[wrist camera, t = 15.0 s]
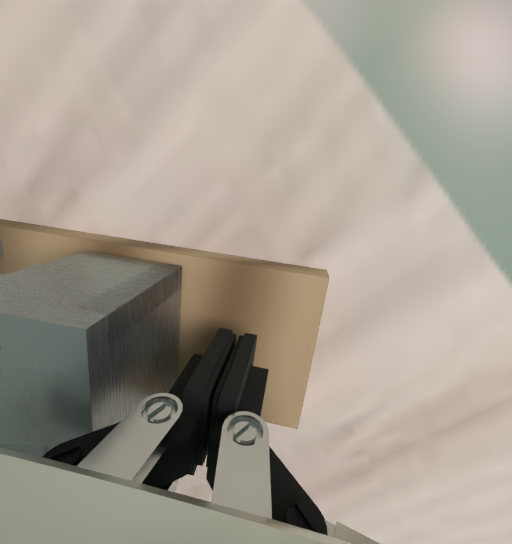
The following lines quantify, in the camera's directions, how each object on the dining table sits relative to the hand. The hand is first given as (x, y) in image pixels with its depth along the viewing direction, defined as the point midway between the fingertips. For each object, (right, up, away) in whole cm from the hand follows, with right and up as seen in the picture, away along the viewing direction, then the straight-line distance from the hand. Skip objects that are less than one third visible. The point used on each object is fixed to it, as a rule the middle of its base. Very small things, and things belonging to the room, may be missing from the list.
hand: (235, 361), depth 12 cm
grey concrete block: (-5, +1, +1) cm, 5 cm away
